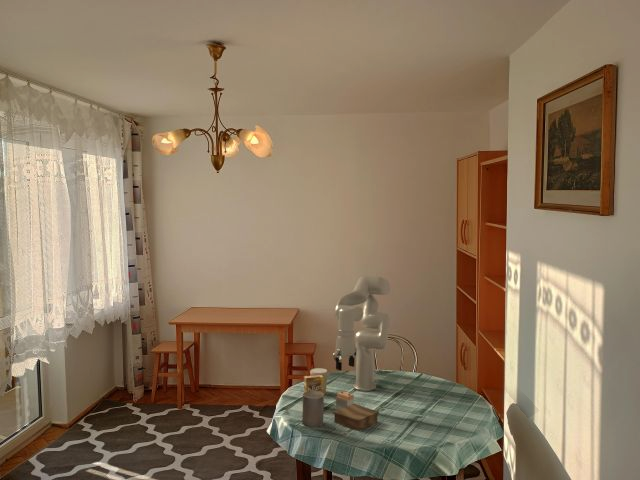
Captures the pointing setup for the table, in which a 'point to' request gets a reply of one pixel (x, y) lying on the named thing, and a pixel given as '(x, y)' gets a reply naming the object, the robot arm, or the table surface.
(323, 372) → the coffee cup
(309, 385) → the candy box
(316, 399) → the pillar candle
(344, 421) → the walnut stand
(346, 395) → the cover
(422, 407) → the table surface
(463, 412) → the table surface
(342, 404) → the housing base
